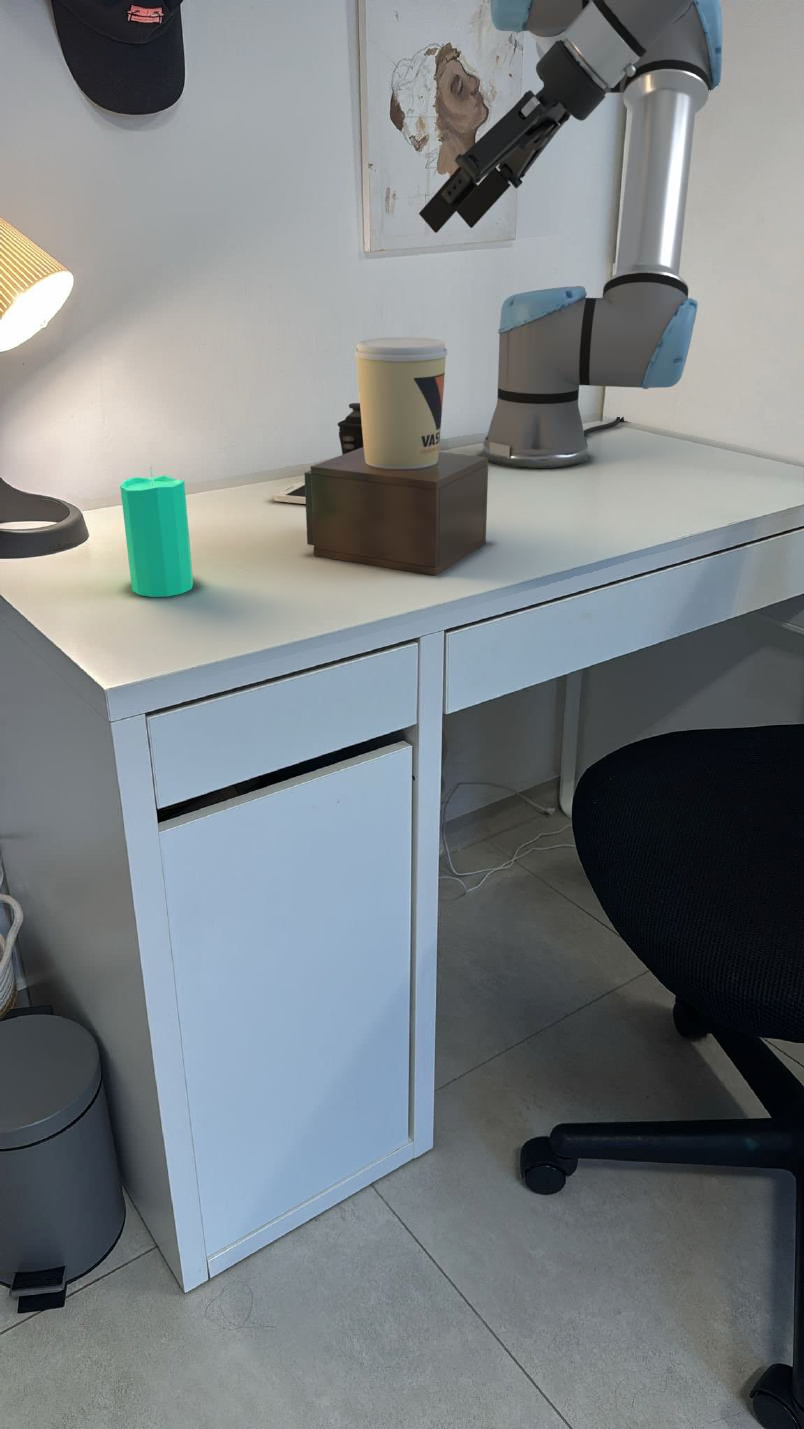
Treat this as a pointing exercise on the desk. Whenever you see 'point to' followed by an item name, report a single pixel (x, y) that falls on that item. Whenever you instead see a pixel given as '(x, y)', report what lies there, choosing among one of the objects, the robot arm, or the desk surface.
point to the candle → (157, 535)
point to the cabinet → (400, 511)
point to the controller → (351, 430)
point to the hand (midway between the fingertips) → (446, 221)
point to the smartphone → (292, 494)
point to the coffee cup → (401, 400)
